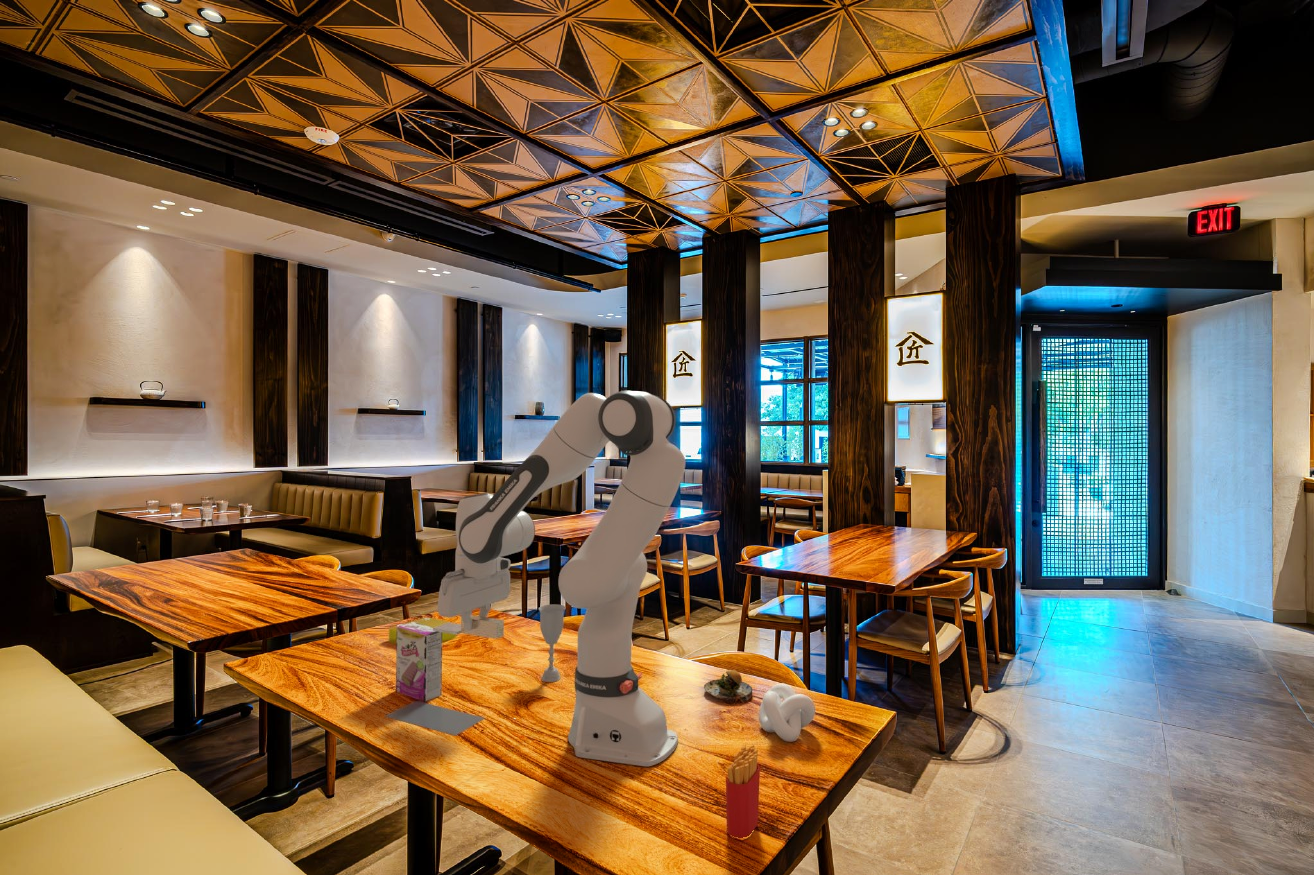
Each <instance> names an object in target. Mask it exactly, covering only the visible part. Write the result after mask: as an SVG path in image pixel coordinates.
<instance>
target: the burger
mask: <svg viewBox="0 0 1314 875" xmlns="http://www.w3.org/2000/svg"><path fill="white" fill-rule="evenodd" d="M739 666H740V665H738V667H737V668H739ZM725 673H726V675H725ZM725 673H722V675H721V677H720V678H718V679H713V680H710V681H708V682H705V684H704V686H703V688H704V690H705V692H707V693H709V695H711V696H713V697H714V698H717V699H721V700H725V701H726V703H727V704H728V705H729V704H730V705H733V704H737V701H738V700H739V701H741V703H744V702H745V703H746V702H749V699H751V698H752V699H753V696H752V695H753V687H752V686H751V685H750V684H749V683H747V682H744V681H743V678H742V675H741V673H739V671H738V670H736V669H735V670H734V669H728V670H726V671H725ZM727 704H726V705H727Z"/></svg>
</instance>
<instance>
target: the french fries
mask: <svg viewBox="0 0 1314 875" xmlns="http://www.w3.org/2000/svg"><path fill="white" fill-rule="evenodd" d="M758 751H759V750H758V749H756V748H755V744H753V745H750V746H749V747H747V746H746V745H745V744H744V745H742V747H741V748H740V751H738V752H736V753H735V754H734V755H733V763H732V764H730V765H729V766H728V767H727V776H725V795H726V796H725V798H726V802H725V803H726V808H725V810H726V832H727V831H728V833H729V835H732V836H734V837H738V838H743V837H747V836H749V835H750V834H751V833H752V831H753V830H754V829H755V827H756V826H757V823H758V824H759V803H760V801H759V798H760V776H761V775H760V774H761V773H760V772H761V771H760V770H761V767H760V765H759V763H758ZM757 827H758V826H757ZM755 830H756V829H755ZM728 833H727V834H728ZM729 835H728V836H729Z"/></svg>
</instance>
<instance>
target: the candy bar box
mask: <svg viewBox="0 0 1314 875" xmlns="http://www.w3.org/2000/svg"><path fill="white" fill-rule="evenodd" d="M403 624H404V623H403ZM395 653H396V655H395V656H396V660H395V661H396V662H395V664H396V665H395V669H396V670H395V671H396V672H395V692H397V693H400V694H403V695H404V696H408V697H410V698H413V699H415V700H418V701H421V702H428V701H431V700H433V699H436V698H438V697H441V696H442V685H443V684H442V679H443V678H442V677H443V676H442V673H443V671H442V670H443V666H442V664H443V642H442V632H438V631H433V628H432V627H429V626H425V625H422V624H418V623H415V622H412V623H408V624H404V625H400V626H398V627H397V644H396V652H395Z"/></svg>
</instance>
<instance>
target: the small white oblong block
mask: <svg viewBox="0 0 1314 875" xmlns="http://www.w3.org/2000/svg"><path fill="white" fill-rule="evenodd" d="M470 617H471V619H472V621H475V625H474V626H475V628H474V629H473V630H470V631H467V630H465V629H464V622H463V620H462V618H461V617H460V623H455V622H452V623H450V622H451V621H447V622H448V623H445V624H443V625H440V626H437V627H434V628H433V631H438V632H444V633H450V634H456V636H457V635H459V634H464V635H471V636H475V637H476V636H477V637H482V638H489V639H494V640H497V639H500V638H502V637H504V635H505V634H504V631H505V630H504V629H505V627H504V626H505V623H504V622H505V621H504V619H499V618H493V617H492V618H491V617H480V616H479V615H473V614H472V615H470Z"/></svg>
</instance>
